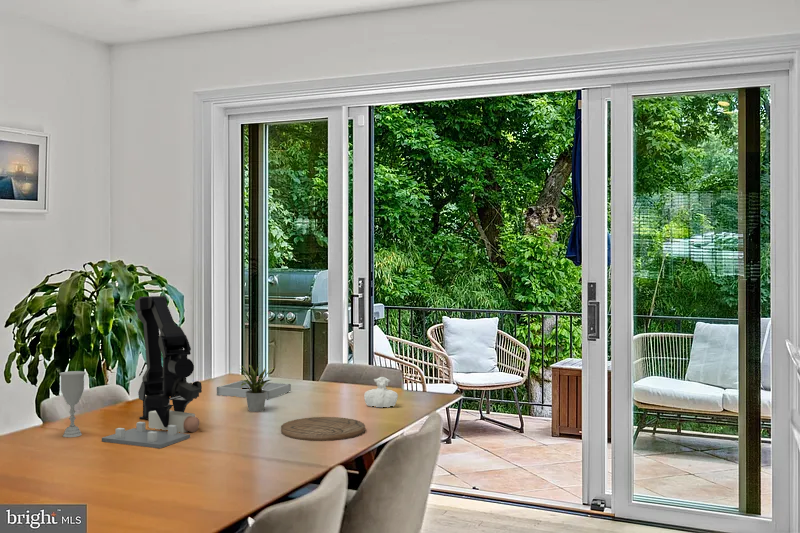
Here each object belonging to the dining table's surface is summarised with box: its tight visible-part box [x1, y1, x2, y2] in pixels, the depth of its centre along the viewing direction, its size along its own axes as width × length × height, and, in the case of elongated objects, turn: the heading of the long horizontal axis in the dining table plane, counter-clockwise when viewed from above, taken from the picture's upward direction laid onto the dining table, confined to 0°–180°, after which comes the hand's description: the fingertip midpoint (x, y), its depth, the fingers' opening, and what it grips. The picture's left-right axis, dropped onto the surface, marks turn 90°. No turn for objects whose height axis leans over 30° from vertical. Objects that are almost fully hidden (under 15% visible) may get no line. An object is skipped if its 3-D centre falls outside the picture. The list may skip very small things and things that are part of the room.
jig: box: [101, 421, 191, 449], centre depth 209 cm, size 20×13×4 cm, turn 69°
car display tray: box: [216, 380, 292, 400], centre depth 282 cm, size 22×17×3 cm
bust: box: [363, 376, 399, 408], centre depth 260 cm, size 12×8×11 cm
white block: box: [148, 409, 200, 434], centre depth 223 cm, size 16×5×5 cm, turn 62°
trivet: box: [280, 416, 366, 442], centre depth 222 cm, size 25×25×2 cm
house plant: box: [238, 363, 277, 413], centre depth 251 cm, size 14×14×16 cm
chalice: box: [58, 370, 87, 438], centre depth 214 cm, size 7×7×18 cm
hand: (172, 425), depth 223 cm, fingers open, 6 cm apart
